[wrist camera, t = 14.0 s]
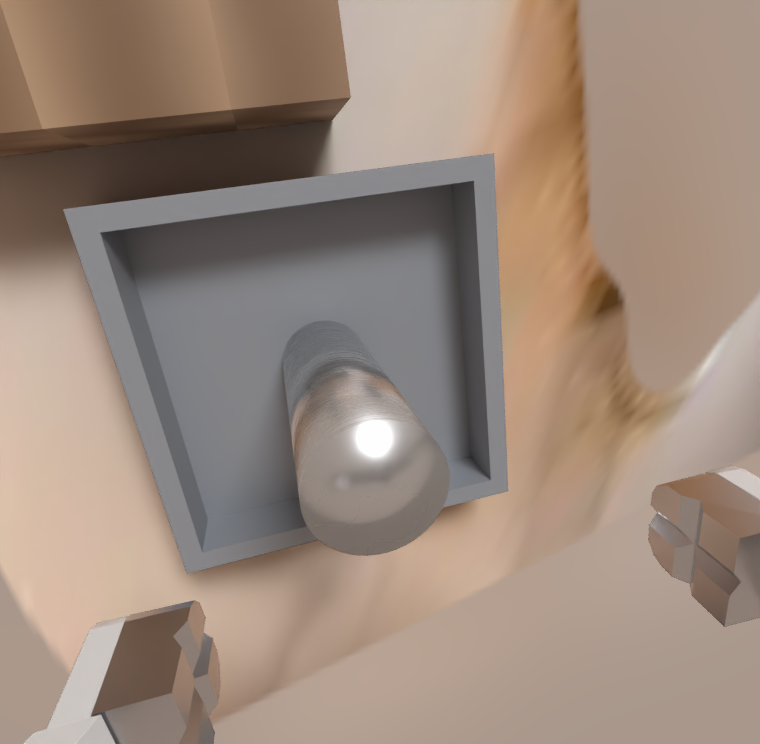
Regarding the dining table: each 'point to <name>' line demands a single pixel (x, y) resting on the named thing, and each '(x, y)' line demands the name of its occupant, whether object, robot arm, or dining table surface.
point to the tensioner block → (163, 69)
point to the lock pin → (357, 446)
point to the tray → (286, 316)
